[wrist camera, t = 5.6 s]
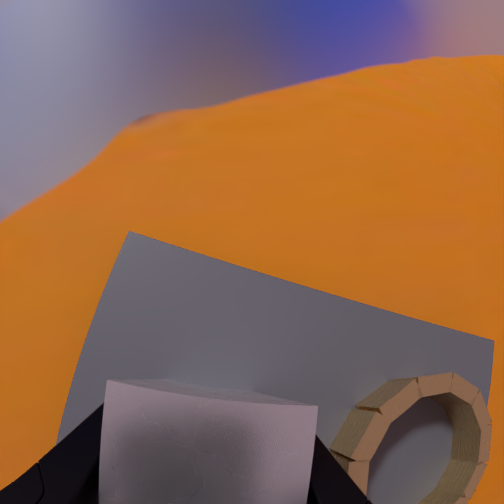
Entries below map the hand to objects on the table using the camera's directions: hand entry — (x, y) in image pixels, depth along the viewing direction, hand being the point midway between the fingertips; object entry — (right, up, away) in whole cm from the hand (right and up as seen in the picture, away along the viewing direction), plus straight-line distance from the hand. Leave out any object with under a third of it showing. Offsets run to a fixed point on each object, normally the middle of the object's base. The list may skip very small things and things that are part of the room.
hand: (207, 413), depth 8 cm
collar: (+9, -7, +6) cm, 13 cm away
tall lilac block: (-1, -4, +5) cm, 6 cm away
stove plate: (+4, -6, +6) cm, 9 cm away
